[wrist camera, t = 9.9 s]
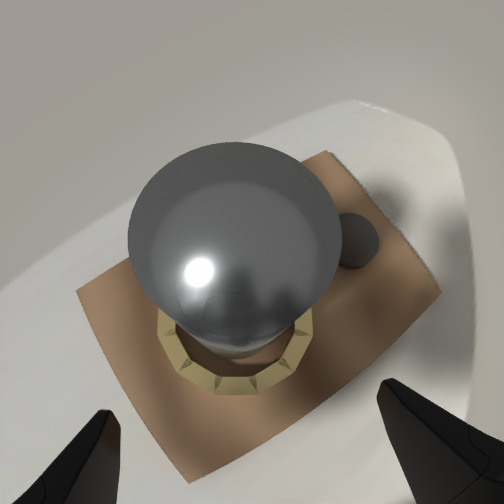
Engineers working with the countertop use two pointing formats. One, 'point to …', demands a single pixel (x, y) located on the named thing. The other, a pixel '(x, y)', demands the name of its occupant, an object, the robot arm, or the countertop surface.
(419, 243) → the countertop surface
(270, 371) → the brass ring
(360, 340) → the board
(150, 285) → the steel peg
